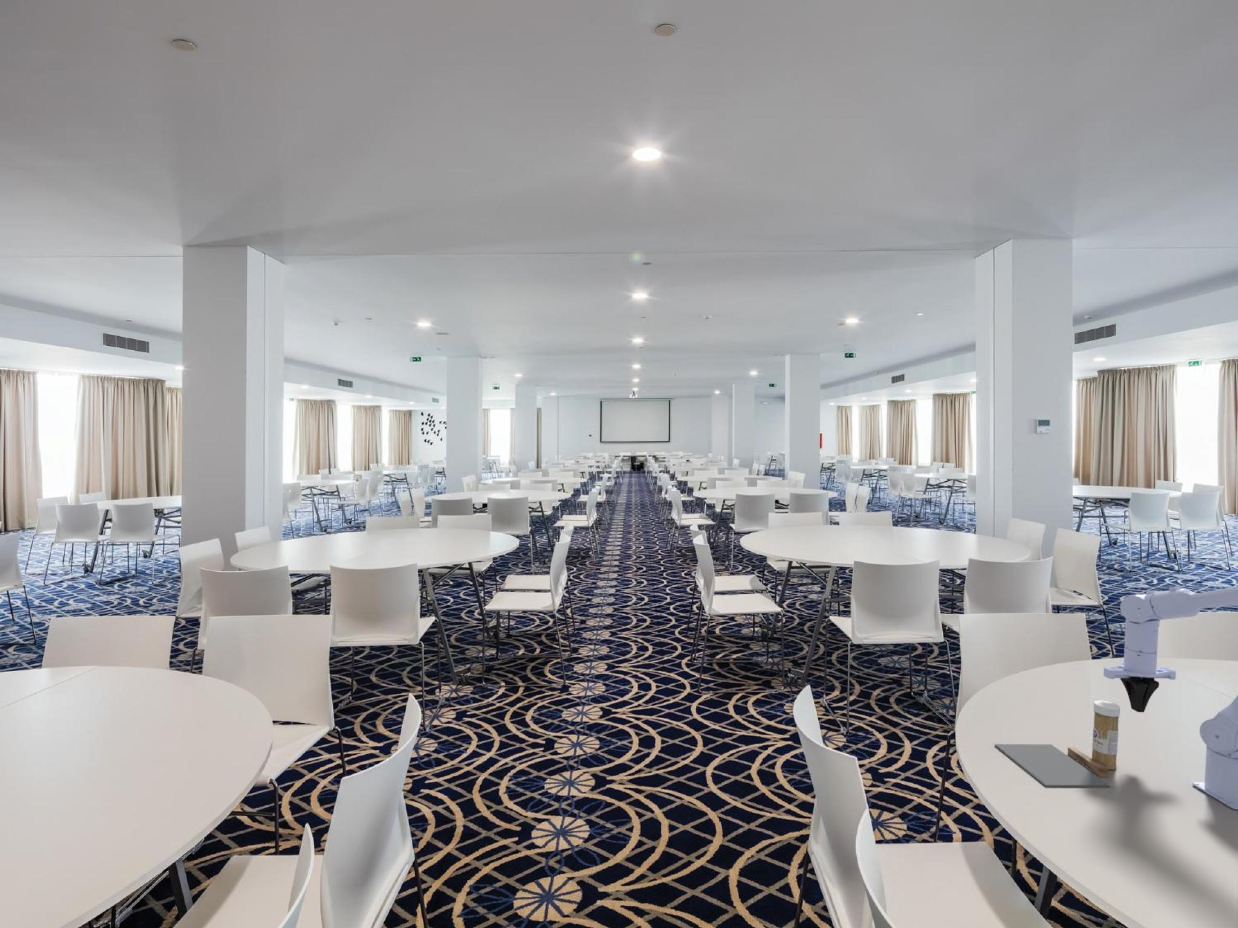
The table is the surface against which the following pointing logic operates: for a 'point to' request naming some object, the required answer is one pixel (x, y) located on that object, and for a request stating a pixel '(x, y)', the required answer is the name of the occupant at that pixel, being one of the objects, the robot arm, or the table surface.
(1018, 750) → the rubber mat
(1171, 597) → the robot arm
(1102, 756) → the sprinkles bottle
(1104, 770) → the walnut rail
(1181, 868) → the table surface
